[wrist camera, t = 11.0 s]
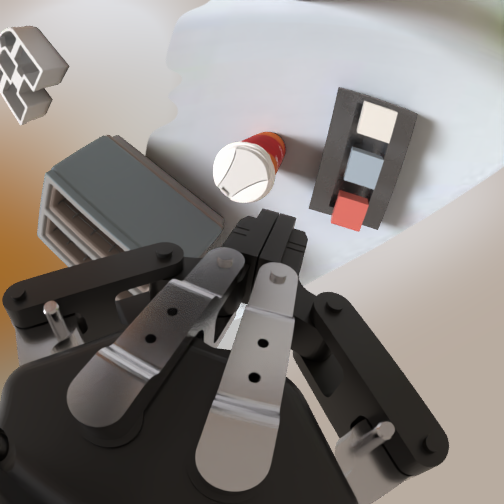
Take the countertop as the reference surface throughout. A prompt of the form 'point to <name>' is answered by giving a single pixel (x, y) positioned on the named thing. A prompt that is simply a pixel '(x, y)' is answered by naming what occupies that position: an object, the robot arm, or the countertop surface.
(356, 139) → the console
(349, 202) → the red key
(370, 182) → the slate-blue key
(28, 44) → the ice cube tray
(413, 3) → the countertop surface
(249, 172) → the coffee cup
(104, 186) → the toaster
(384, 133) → the white key
